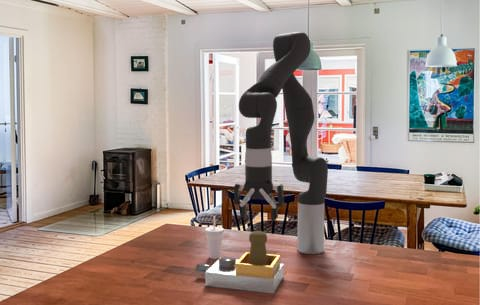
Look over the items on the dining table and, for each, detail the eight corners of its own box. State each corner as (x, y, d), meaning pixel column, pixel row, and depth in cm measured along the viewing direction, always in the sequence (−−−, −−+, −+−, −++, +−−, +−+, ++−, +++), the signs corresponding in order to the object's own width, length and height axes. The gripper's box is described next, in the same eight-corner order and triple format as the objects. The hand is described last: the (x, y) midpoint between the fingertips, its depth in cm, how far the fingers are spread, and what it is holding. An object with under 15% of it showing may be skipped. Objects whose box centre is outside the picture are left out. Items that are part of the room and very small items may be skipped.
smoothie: (224, 253, 167) (223, 214, 166) (224, 259, 161) (223, 218, 159) (205, 254, 167) (205, 214, 165) (204, 260, 161) (204, 218, 159)
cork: (243, 269, 141) (243, 232, 139) (257, 263, 145) (257, 228, 144) (259, 274, 136) (259, 236, 135) (272, 268, 141) (272, 231, 140)
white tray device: (205, 268, 153) (205, 247, 152) (283, 276, 145) (283, 254, 145) (189, 283, 140) (188, 260, 139) (273, 293, 133) (273, 268, 132)
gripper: (285, 162, 138) (286, 218, 140) (238, 161, 142) (239, 215, 144) (280, 166, 131) (280, 224, 133) (230, 165, 135) (231, 221, 137)
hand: (259, 219), depth 139 cm, fingers open, 8 cm apart
